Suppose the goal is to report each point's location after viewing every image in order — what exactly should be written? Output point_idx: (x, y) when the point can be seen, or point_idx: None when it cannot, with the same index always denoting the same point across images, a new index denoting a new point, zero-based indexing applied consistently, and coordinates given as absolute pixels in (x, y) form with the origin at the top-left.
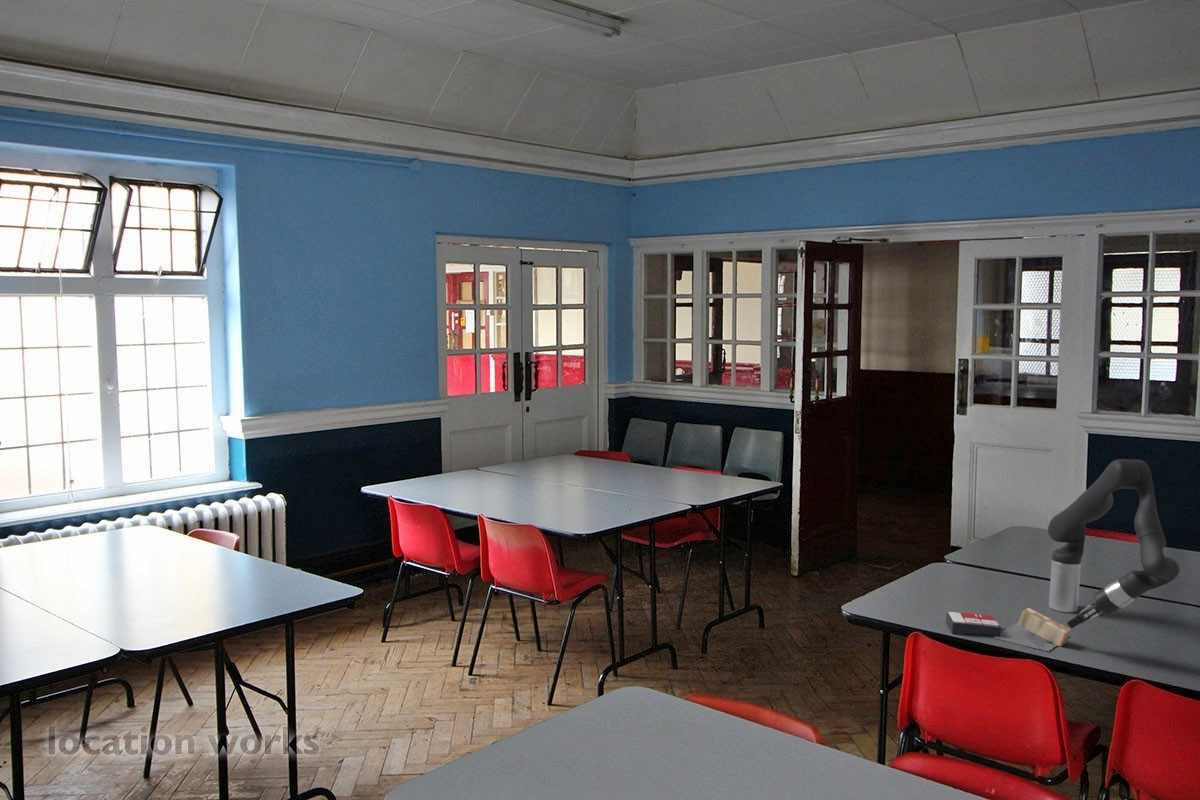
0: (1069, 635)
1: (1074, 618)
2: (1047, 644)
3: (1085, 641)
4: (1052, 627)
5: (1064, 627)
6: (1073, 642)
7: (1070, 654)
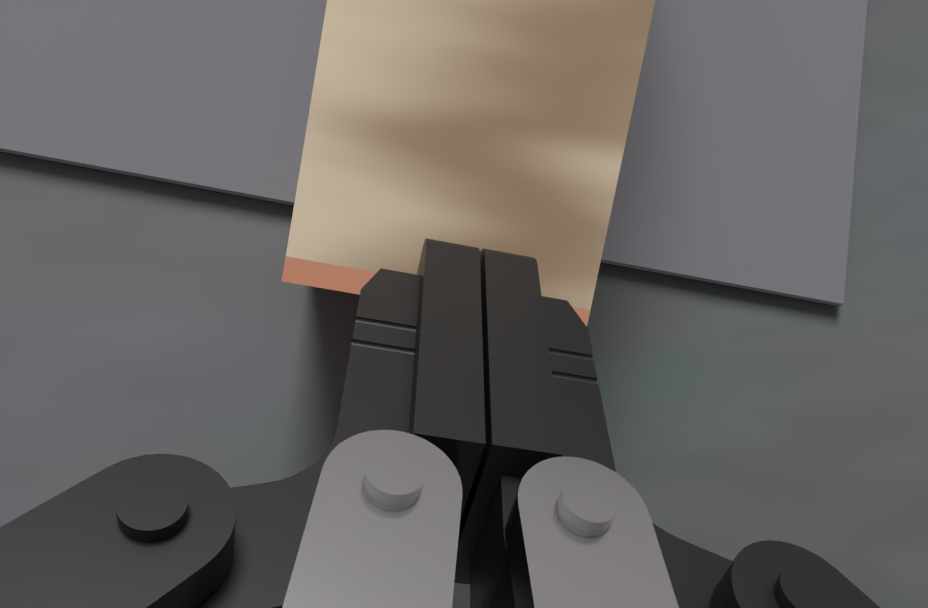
0: (832, 300)
1: (409, 396)
2: (268, 91)
3: (762, 515)
4: (325, 16)
5: (537, 216)
6: (619, 382)
7: (55, 425)
